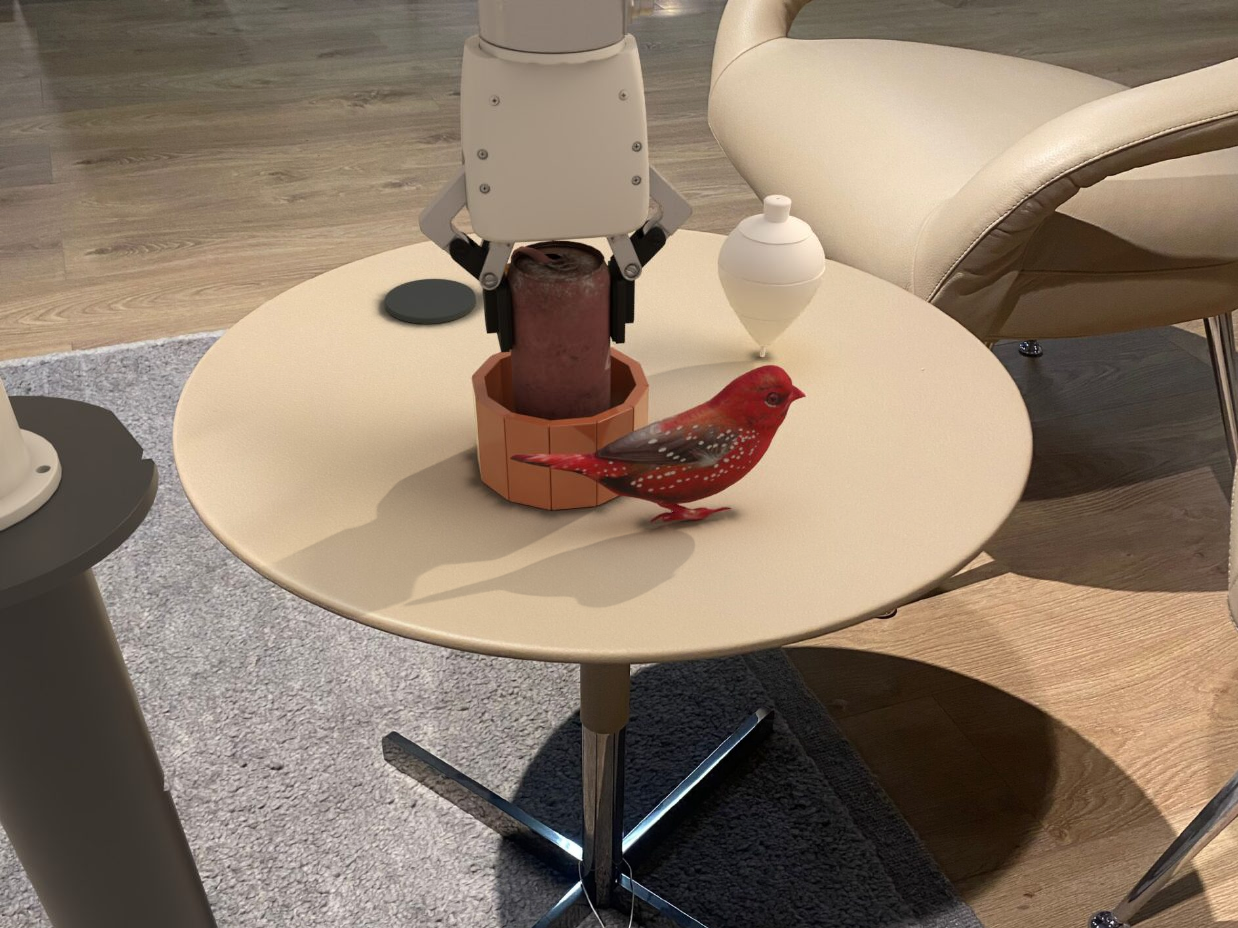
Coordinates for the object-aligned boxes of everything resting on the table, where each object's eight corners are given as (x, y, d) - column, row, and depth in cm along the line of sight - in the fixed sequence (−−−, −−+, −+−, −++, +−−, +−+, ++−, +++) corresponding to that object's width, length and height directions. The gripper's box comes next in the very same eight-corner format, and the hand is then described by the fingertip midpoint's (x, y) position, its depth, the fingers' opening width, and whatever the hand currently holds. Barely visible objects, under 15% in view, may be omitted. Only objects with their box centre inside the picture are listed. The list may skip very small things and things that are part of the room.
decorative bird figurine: (800, 518, 74) (820, 373, 67) (519, 559, 70) (511, 410, 64) (783, 492, 76) (801, 349, 69) (510, 531, 72) (501, 384, 66)
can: (535, 430, 81) (526, 229, 72) (623, 447, 79) (624, 244, 70) (498, 476, 77) (483, 269, 68) (590, 495, 75) (588, 286, 66)
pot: (487, 516, 73) (481, 432, 69) (472, 426, 81) (465, 346, 77) (659, 500, 75) (662, 417, 71) (627, 413, 83) (628, 334, 79)
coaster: (387, 327, 92) (386, 321, 92) (383, 287, 98) (383, 281, 97) (479, 320, 93) (479, 314, 93) (471, 281, 99) (471, 275, 98)
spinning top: (831, 371, 88) (854, 211, 80) (738, 389, 86) (752, 226, 78) (784, 326, 93) (801, 172, 86) (695, 342, 91) (704, 185, 83)
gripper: (699, -9, 65) (684, 301, 76) (377, 1, 62) (413, 320, 74) (734, 28, 59) (712, 356, 71) (382, 40, 56) (420, 379, 68)
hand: (559, 335), depth 72 cm, fingers closed on can, 6 cm apart
